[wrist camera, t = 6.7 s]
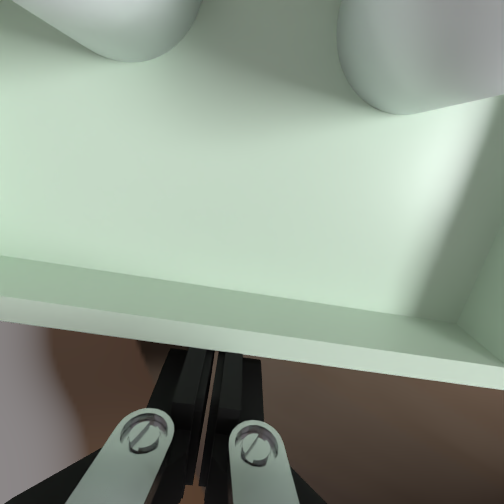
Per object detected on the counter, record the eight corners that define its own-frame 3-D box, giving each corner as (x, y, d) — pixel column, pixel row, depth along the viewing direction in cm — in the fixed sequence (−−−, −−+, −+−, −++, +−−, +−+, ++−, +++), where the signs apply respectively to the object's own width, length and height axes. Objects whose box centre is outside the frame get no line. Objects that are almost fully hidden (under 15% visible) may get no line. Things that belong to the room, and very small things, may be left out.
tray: (454, 332, 12) (521, 392, 9) (-26, 261, 11) (-131, 303, 8) (686, -177, 7) (991, -405, 4) (-122, -394, 6) (-475, -912, 3)
